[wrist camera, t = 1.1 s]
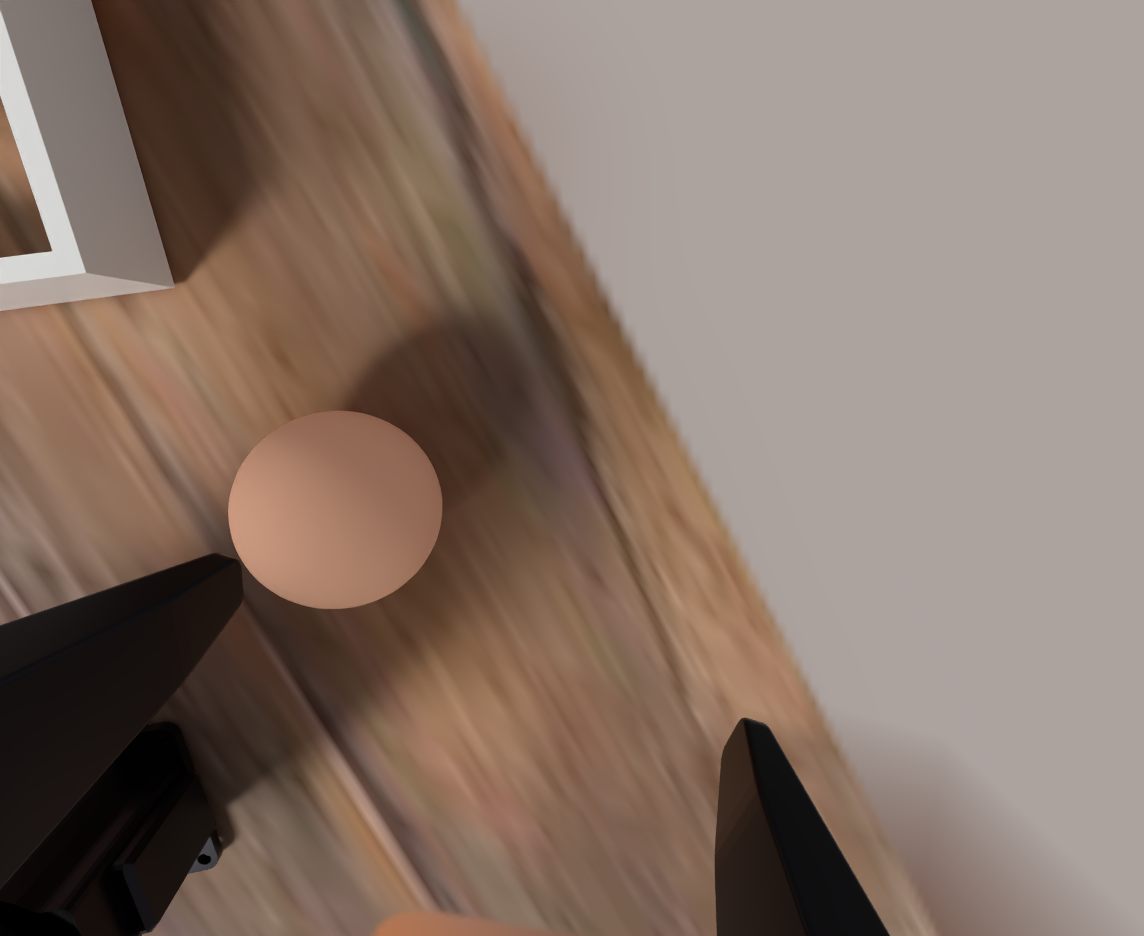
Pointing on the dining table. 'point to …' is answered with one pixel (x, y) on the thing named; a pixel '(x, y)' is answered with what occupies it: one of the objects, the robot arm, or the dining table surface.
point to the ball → (335, 509)
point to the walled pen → (74, 161)
